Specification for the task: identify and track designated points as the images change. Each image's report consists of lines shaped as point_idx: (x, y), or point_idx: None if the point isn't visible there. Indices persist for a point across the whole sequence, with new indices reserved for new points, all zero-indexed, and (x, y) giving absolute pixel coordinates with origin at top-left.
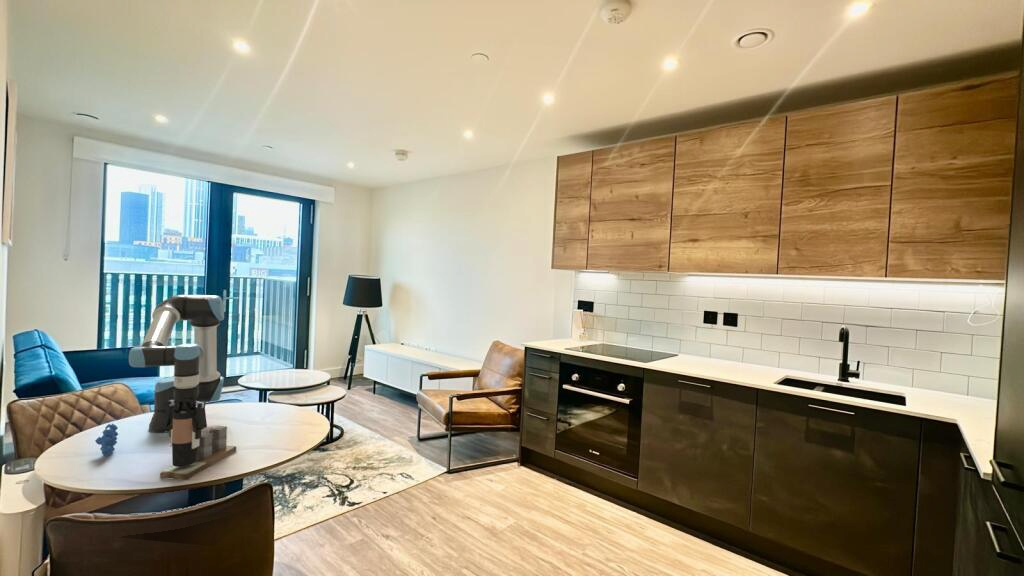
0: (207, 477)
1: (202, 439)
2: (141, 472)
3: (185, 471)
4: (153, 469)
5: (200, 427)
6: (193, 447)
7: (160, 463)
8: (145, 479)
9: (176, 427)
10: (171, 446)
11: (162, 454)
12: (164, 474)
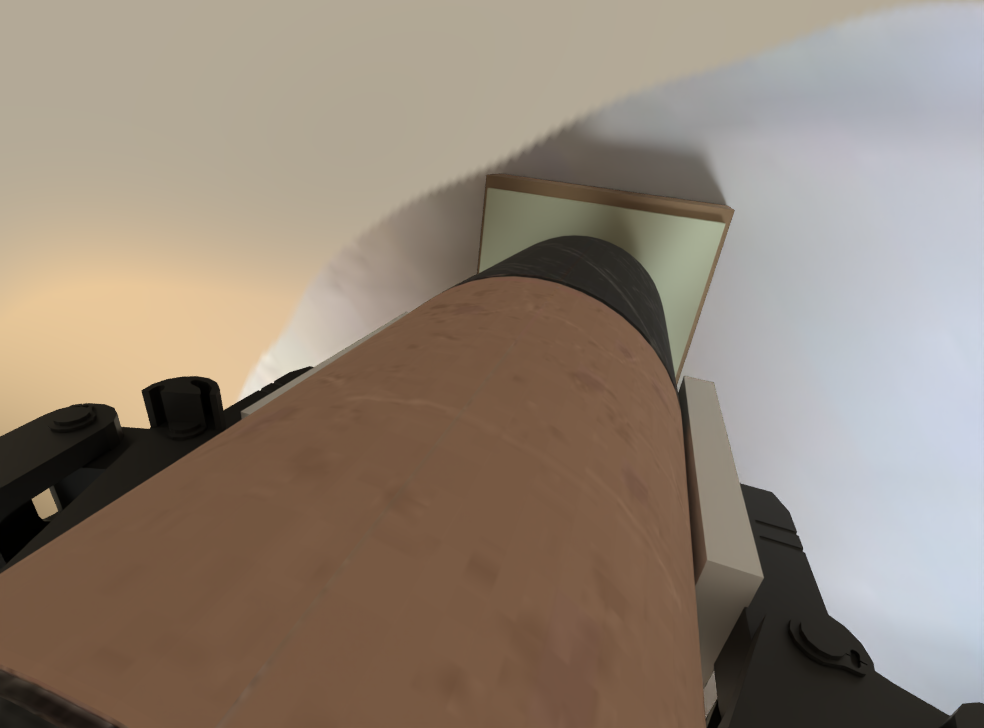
0: (393, 224)
1: None
2: (970, 314)
3: (518, 223)
4: (876, 366)
5: (52, 428)
6: (400, 316)
7: (868, 467)
8: (852, 172)
9: (434, 426)
10: (700, 382)
11: (932, 614)
12: (687, 201)
